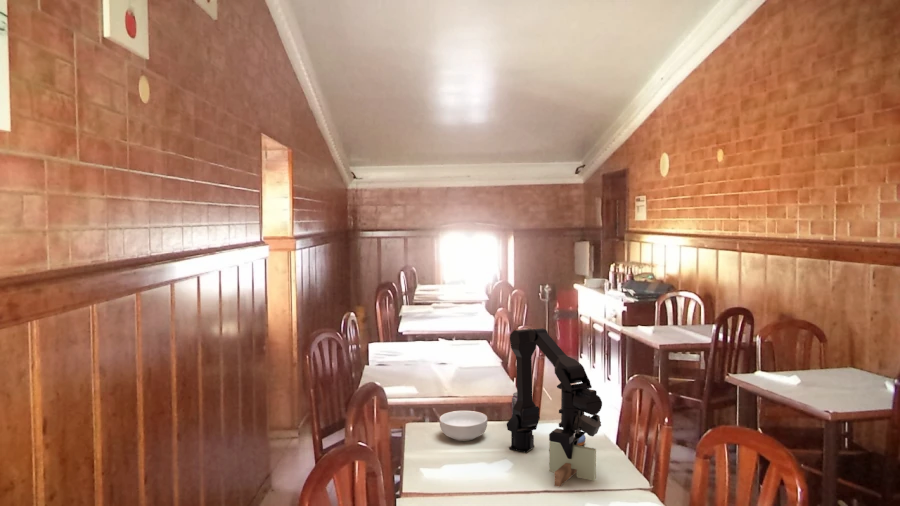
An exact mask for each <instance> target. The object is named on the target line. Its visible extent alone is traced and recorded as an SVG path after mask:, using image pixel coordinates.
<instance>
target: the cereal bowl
mask: <svg viewBox="0 0 900 506" xmlns="http://www.w3.org/2000/svg"><path fill="white" fill-rule="evenodd" d="M439 427H440V431H441V432H442V433H443V434H444V435H445V436H447V437H449V438H451V439H454V441H458V442H470V441H473V440H475V439H476V438H479V437H480V436H482V435H483V434H484V433H485V432H486V431H487V427H488V416H487V414H485V413H482V412H480V411H473V410H454V411H449V412H445V413H443V414H442V415H440V417H439Z"/></svg>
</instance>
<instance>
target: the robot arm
mask: <svg viewBox="0 0 900 506" xmlns="http://www.w3.org/2000/svg"><path fill="white" fill-rule="evenodd" d="M509 342H510V348H511V351H512V352H513V354H514V355H515V361H516V362H515V363H516V366H515V367H516V392H517V402H516V404H515V406H514V407H513V413H512V412H511V417H510V419H508V420H507V422H506V428H507V429H506V430H507V431H508V432H510V434H511V435H510V436H511V437H510V439H511V440H510V441H511V443H510V444H511V445H509V447H508V449H509V450H513V451H517V452H521V453H522V452H523V453H528V452H530V451H531V450H532V449H534V448H535V444H534V443H535V442H534V441H535V440H534V439H535V438H534V437H535V436H534V435H533V431H535V430H537V428H538V423H539V422H540V419H541V417H540V408H539V406H537V405H536V403H535V402H534V400H533V397H534V396H533V371H532V370H533V368H532V367H533V365H532V364H533V362H532V356H533V355H534V354H535V351H536V349H537V347H538V348H539V350H540V351H541V352H542V354H544V356H545V357H546V358H547V359H548V361H549V362H550V364H552V366H553V368H554V374H555V376H556V378H557V379H558V380H559V382H560V383H559V384H558V385H556V388H557V389H560V390H561V397H560V399H561V404H560V405H561V406H560V407H561V408H560V409H558V414H560V416H561V417H560V419H561V422H559V423H558V428H557V427H556V428H555V429H554V430H552V431H551V432H549V434H548V441H549V442H550V441H552V442H557V443H560V444H561V445H562V448H563V450H564V452H565V454H566V456H567V458H568V459H571V458H572V453H573V446H574V445H577V444H578V441H579V438H580V437H582V436H583V435H585V434H587V435H588V436H590V437H594V436H596V434H598V433H599V429H600V427H602V424H601V423H602V421H601V419H600V418H601V416H600V415H599V413H600V411H601V410H602V407H603V401H602V398H601V397H600V396H599V395H597V390H595V389H592V383H591V380H590V379H589V377H588V375H587V372H586V371H585V367H584V366H583V364H581V363H580V362H579V361H578V360H577V359H575V358H573V357H570V356H569V355H567V354H566V353H565V352H564V350H562V348H561V347H560V346H559V345H558V344H557V342H555V341H554V338H552V337H551V336H550V335H549V333H548V330H547V329H546V328H543V327H540V328H523V329H515V330H513V331H512V332H511V333H510V335H509ZM585 413H586V414H588V415H585Z"/></svg>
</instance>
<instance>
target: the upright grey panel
mask: <svg viewBox="0 0 900 506" xmlns="http://www.w3.org/2000/svg"><path fill="white" fill-rule="evenodd" d="M548 451H549V456H548V457H549V462H548V463H549V469H548V470H549V472H551V473H555V471H556V470H558V469H559V468H560V467H561V466H563V465H564V464H565V463H570V464H571V468H572V469H577V472H576V478H579V479H583V480H588V481H593V482H594V481H596V480H597V448H594V447H588V446H583V445H582V446H579V445H574V446H573V453H572V458H571V459H568V458H567V456H566V454H565V452H564V450H563V448H562V445H561V444H560V443H557V442H552V441H549V450H548ZM595 479H596V480H595Z"/></svg>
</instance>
